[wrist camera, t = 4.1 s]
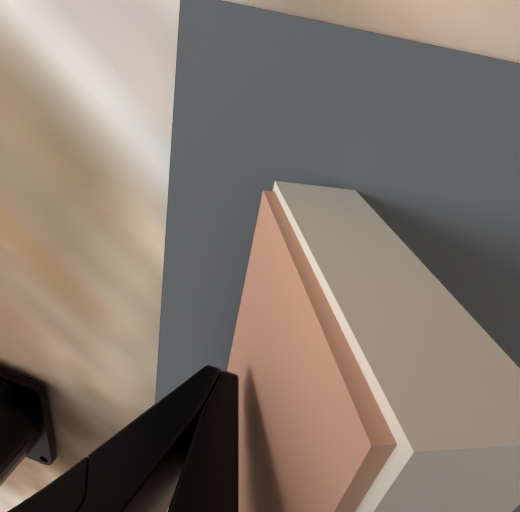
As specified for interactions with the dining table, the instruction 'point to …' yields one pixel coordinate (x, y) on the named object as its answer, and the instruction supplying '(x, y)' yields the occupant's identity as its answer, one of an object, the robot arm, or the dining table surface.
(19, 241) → the dining table surface
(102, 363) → the dining table surface
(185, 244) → the mat
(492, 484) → the deck
